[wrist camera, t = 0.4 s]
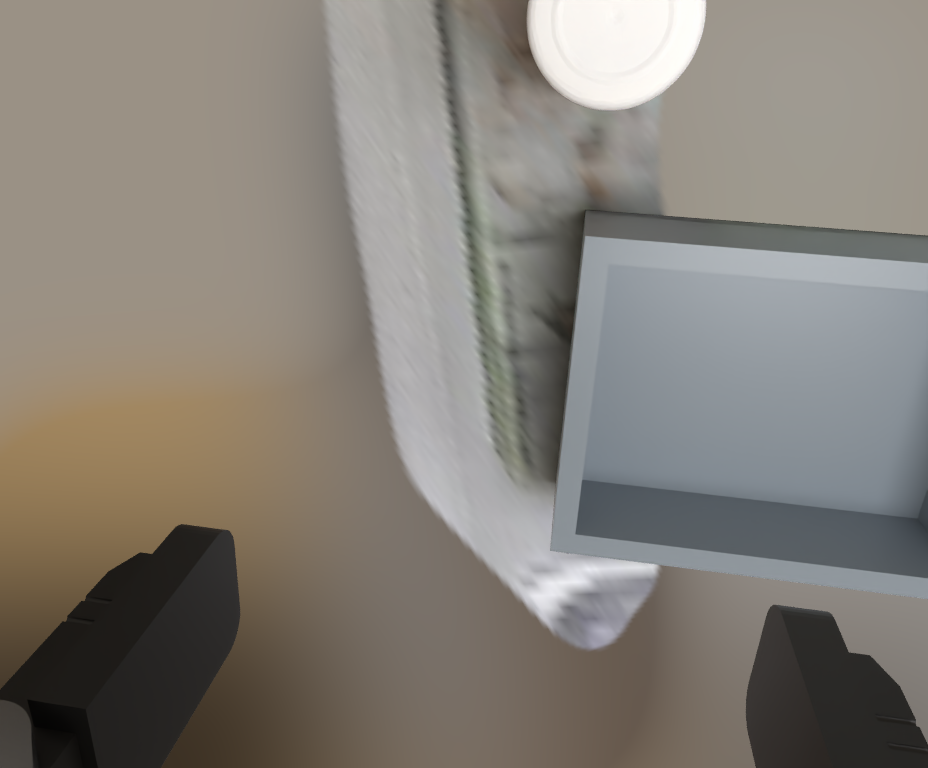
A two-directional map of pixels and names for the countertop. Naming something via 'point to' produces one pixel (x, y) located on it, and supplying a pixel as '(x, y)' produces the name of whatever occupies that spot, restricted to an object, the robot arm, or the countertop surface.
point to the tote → (749, 402)
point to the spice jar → (613, 47)
